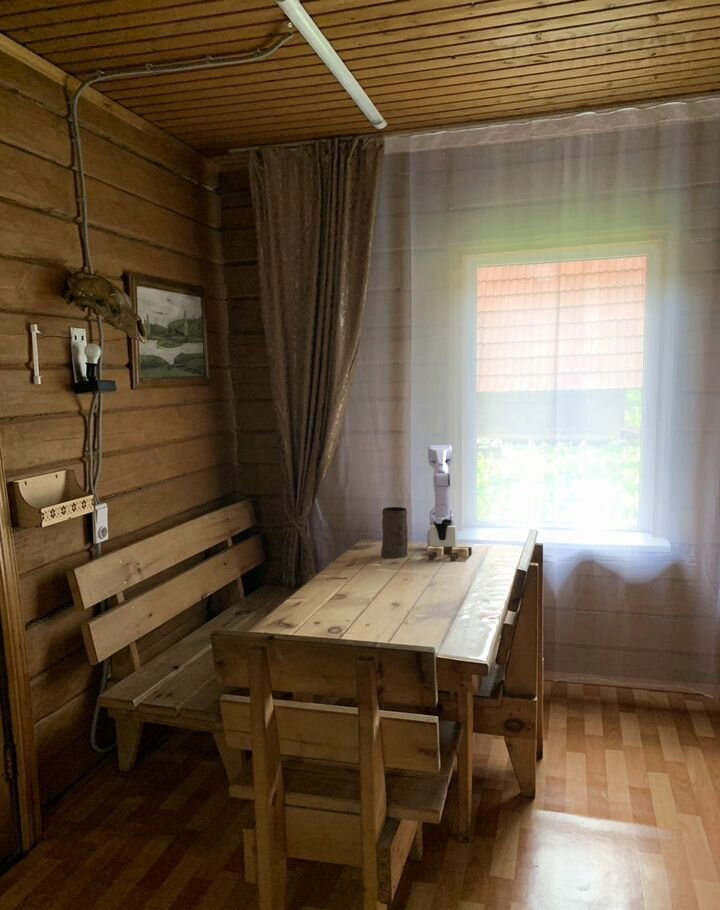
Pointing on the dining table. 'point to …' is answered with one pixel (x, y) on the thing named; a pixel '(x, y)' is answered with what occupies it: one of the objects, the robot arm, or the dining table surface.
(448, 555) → the rack
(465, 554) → the offcut right
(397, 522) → the beer stein
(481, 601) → the dining table surface
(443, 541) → the panel
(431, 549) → the offcut left
